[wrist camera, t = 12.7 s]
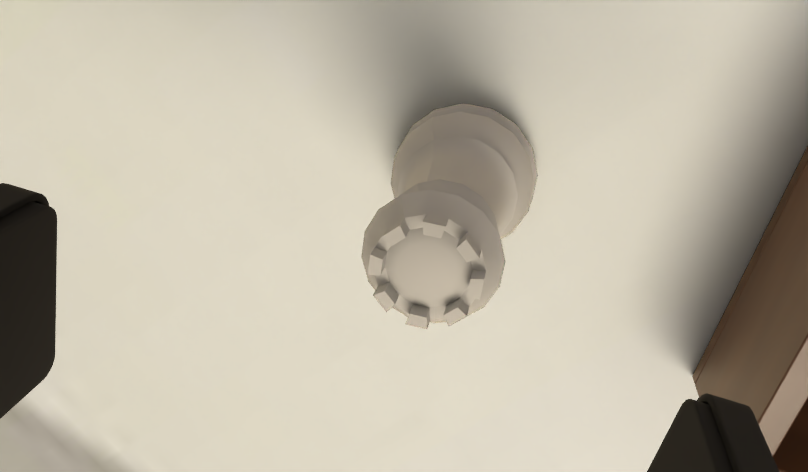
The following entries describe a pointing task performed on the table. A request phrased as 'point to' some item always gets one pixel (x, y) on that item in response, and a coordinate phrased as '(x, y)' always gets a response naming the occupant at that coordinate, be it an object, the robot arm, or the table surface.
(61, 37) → the table surface
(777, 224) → the crate
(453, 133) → the rook chess piece
